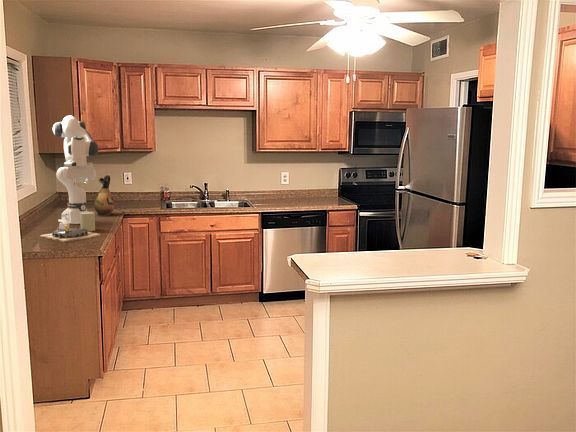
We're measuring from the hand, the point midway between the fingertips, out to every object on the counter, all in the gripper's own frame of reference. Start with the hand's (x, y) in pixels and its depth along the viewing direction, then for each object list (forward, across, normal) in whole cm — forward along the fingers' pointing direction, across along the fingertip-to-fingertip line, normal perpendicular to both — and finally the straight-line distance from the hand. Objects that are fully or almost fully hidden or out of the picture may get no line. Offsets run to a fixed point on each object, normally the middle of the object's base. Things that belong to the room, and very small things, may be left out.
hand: (79, 184), depth 342 cm
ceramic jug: (+33, -50, -40) cm, 72 cm away
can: (+31, -5, 0) cm, 31 cm away
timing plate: (+30, +14, +8) cm, 34 cm away
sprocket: (+29, +14, +8) cm, 33 cm away
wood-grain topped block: (+27, +14, +2) cm, 30 cm away
